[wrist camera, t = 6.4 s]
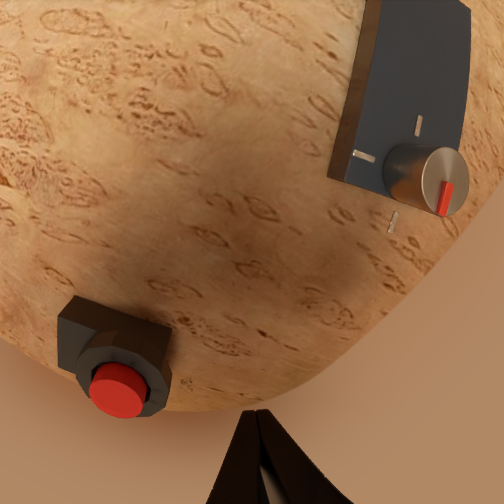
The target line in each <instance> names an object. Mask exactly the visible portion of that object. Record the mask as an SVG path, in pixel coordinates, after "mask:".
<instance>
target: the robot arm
mask: <svg viewBox="0 0 504 504" xmlns="http://www.w3.org/2000/svg"><path fill="white" fill-rule="evenodd" d="M206 504H354V503H353V502H351V501H350V500H349V499H348V498H347V497H345V496H344V495H343V494H342V493H341V492H340V491H339V490H338V489H337V488H336V487H335V486H334V485H333V484H332V483H331V482H330V481H329V480H328V479H327V478H326V477H324V475H323V473H322V472H321V471H320V470H319V469H318V468H317V467H316V465H315V464H314V463H313V462H312V461H311V460H310V459H309V458H308V456H307V455H306V454H305V453H304V452H303V451H302V450H301V448H300V447H299V446H298V445H297V443H296V442H295V441H294V440H293V439H292V438H291V436H290V435H289V434H288V433H287V432H286V430H285V429H284V428H283V427H282V425H281V424H280V423H279V422H278V421H277V419H276V418H275V417H274V416H273V414H272V413H271V412H270V411H269V410H268V409H259V410H256V412H255V411H254V410H245V411H243V412H242V414H241V416H240V419H239V422H238V425H237V427H236V430H235V433H234V435H233V438H232V440H231V443H230V446H229V448H228V451H227V453H226V456H225V458H224V461H223V464H222V466H221V469H220V471H219V474H218V476H217V479H216V481H215V483H214V486H213V489H212V490H211V493H210V495H209V498H208V500H207V502H206Z"/></svg>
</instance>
